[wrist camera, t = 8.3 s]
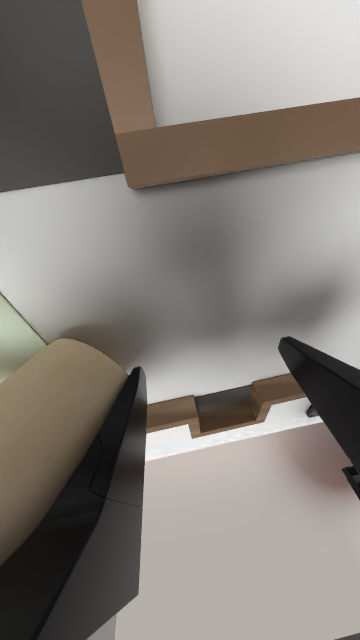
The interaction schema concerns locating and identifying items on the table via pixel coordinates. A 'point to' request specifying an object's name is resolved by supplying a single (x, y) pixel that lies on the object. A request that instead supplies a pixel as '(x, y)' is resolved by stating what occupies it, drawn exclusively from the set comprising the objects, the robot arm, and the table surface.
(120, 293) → the table surface
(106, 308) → the table surface
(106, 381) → the candle
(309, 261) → the table surface
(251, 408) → the trap lane
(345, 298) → the table surface
